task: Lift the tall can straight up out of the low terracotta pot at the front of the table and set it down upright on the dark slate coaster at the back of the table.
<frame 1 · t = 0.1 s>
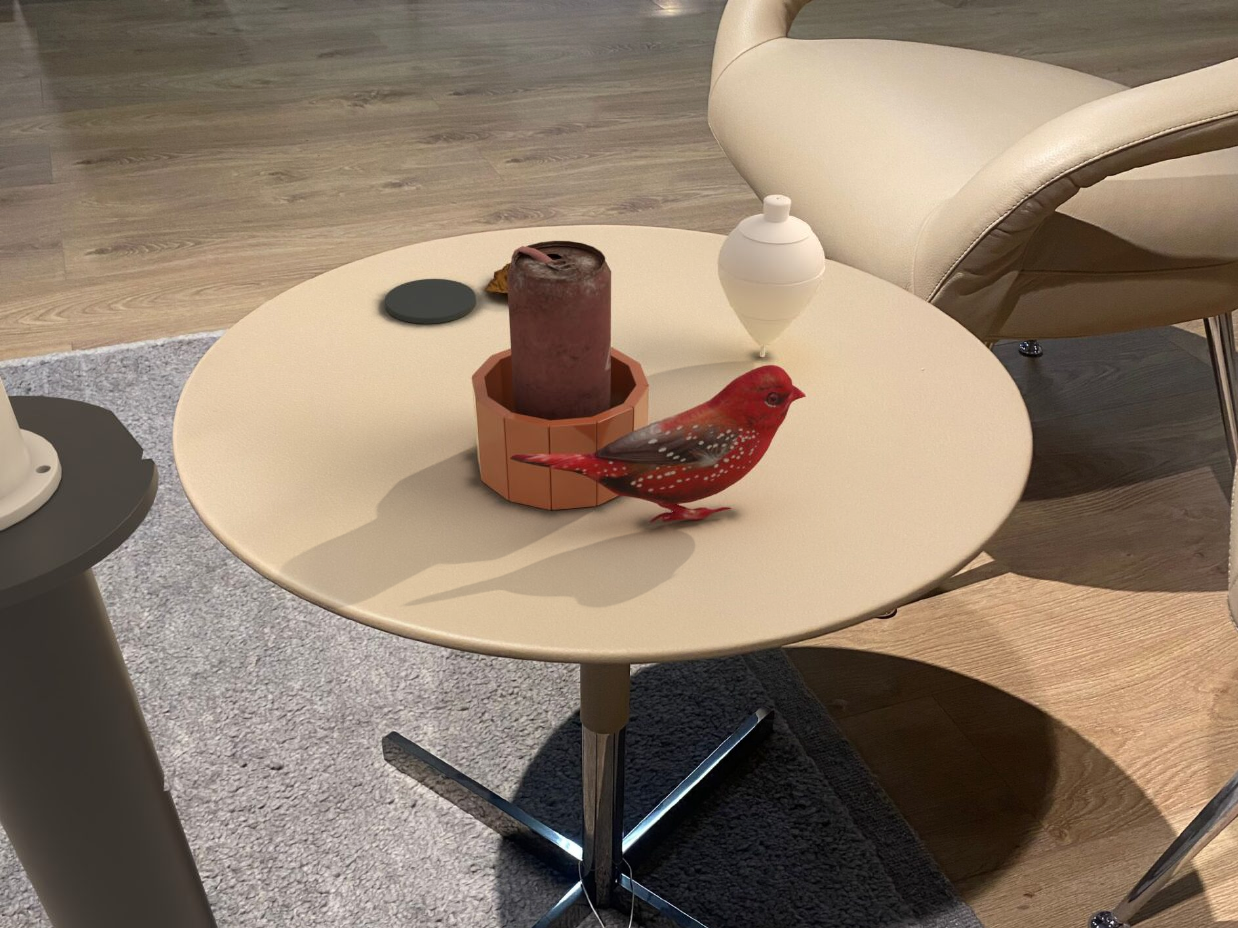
pot: (561, 462, 78), on the table
coaster: (430, 303, 95), on the table
leaf: (528, 293, 98), on the table
decorative bird figurine: (656, 527, 73), on the table
spinning top: (761, 358, 90), on the table
can: (561, 464, 78), resting in pot
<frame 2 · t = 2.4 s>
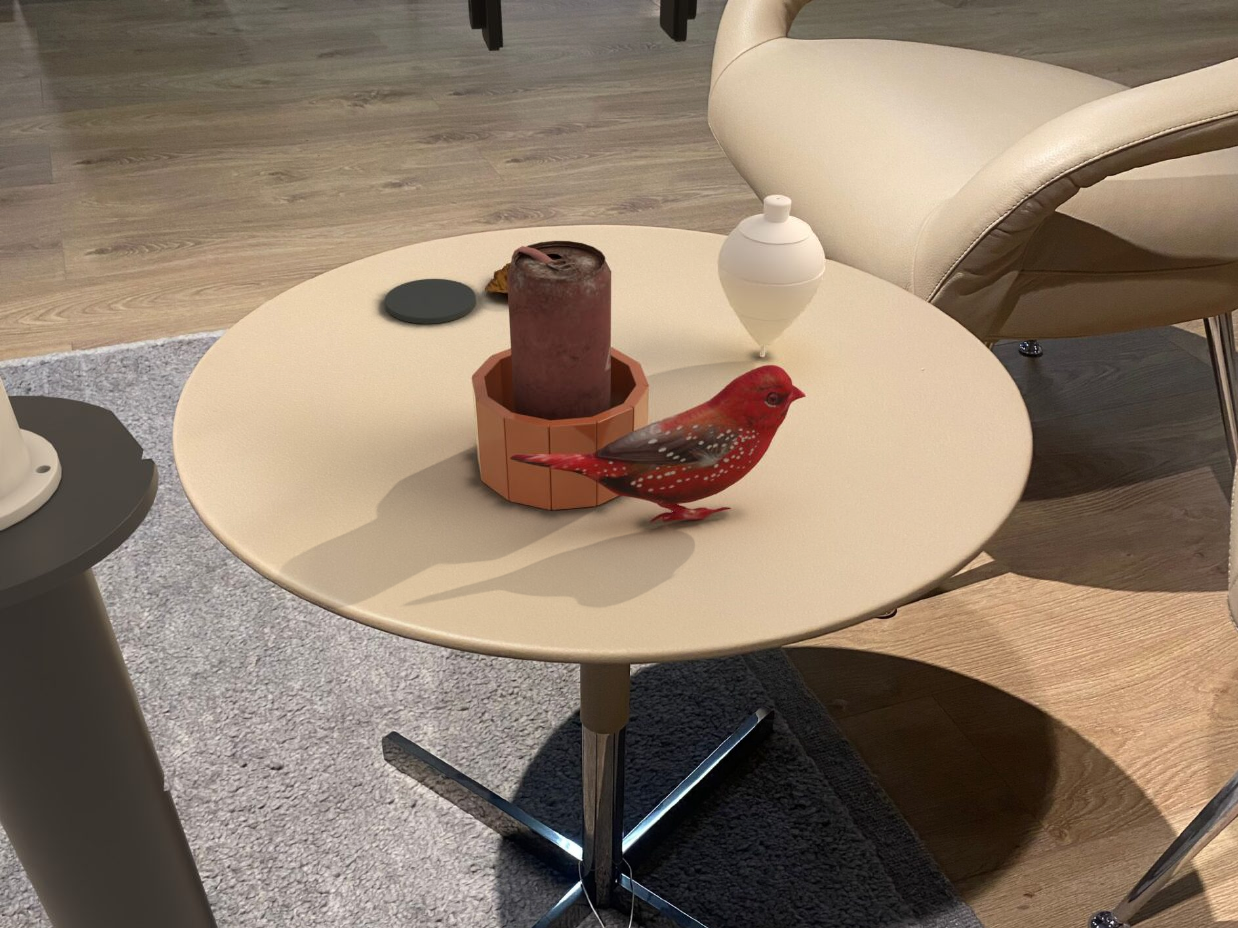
hand: (583, 39, 62), 25 cm above the table, tool pointing down, fingers open, 9 cm apart
nothing on the table moved.
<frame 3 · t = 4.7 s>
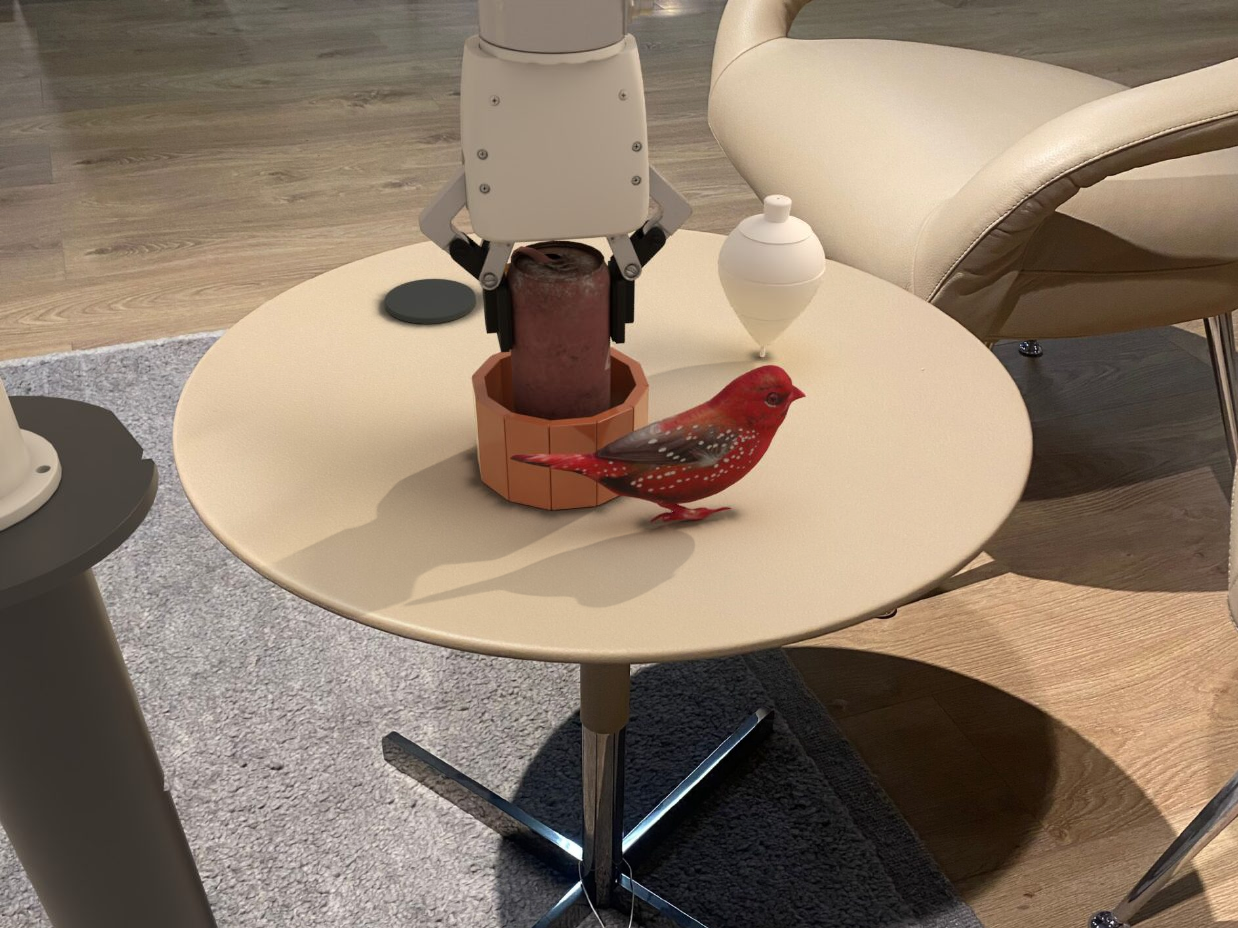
hand: (559, 335, 72), 9 cm above the table, tool pointing down, fingers closed on can, 6 cm apart
can: (562, 464, 78), resting in pot, touching gripper
everything else where it was.
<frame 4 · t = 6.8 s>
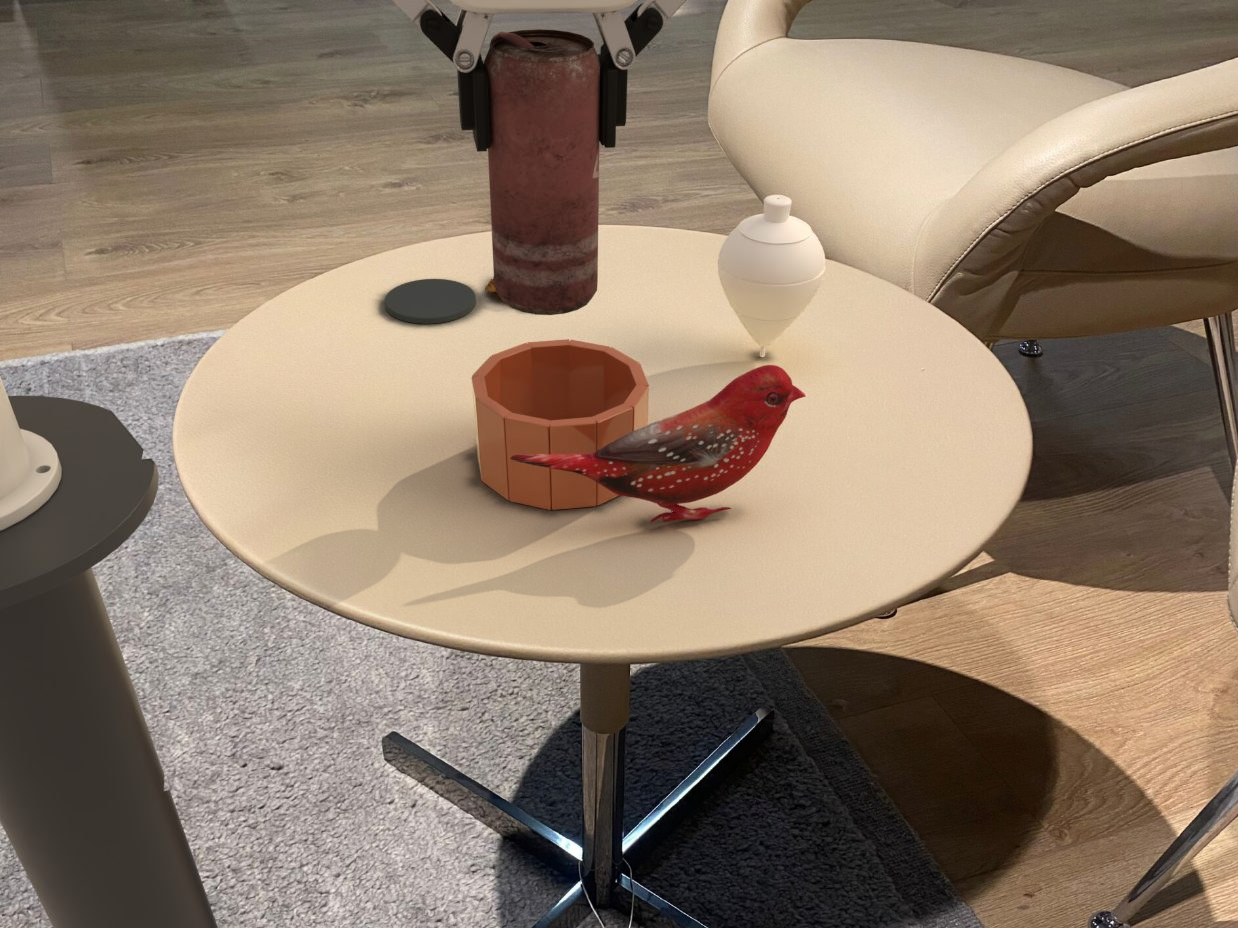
hand: (543, 138, 65), 21 cm above the table, tool pointing down, fingers closed on can, 6 cm apart
can: (544, 297, 71), point 11 cm above the table, touching gripper
everything else where it was.
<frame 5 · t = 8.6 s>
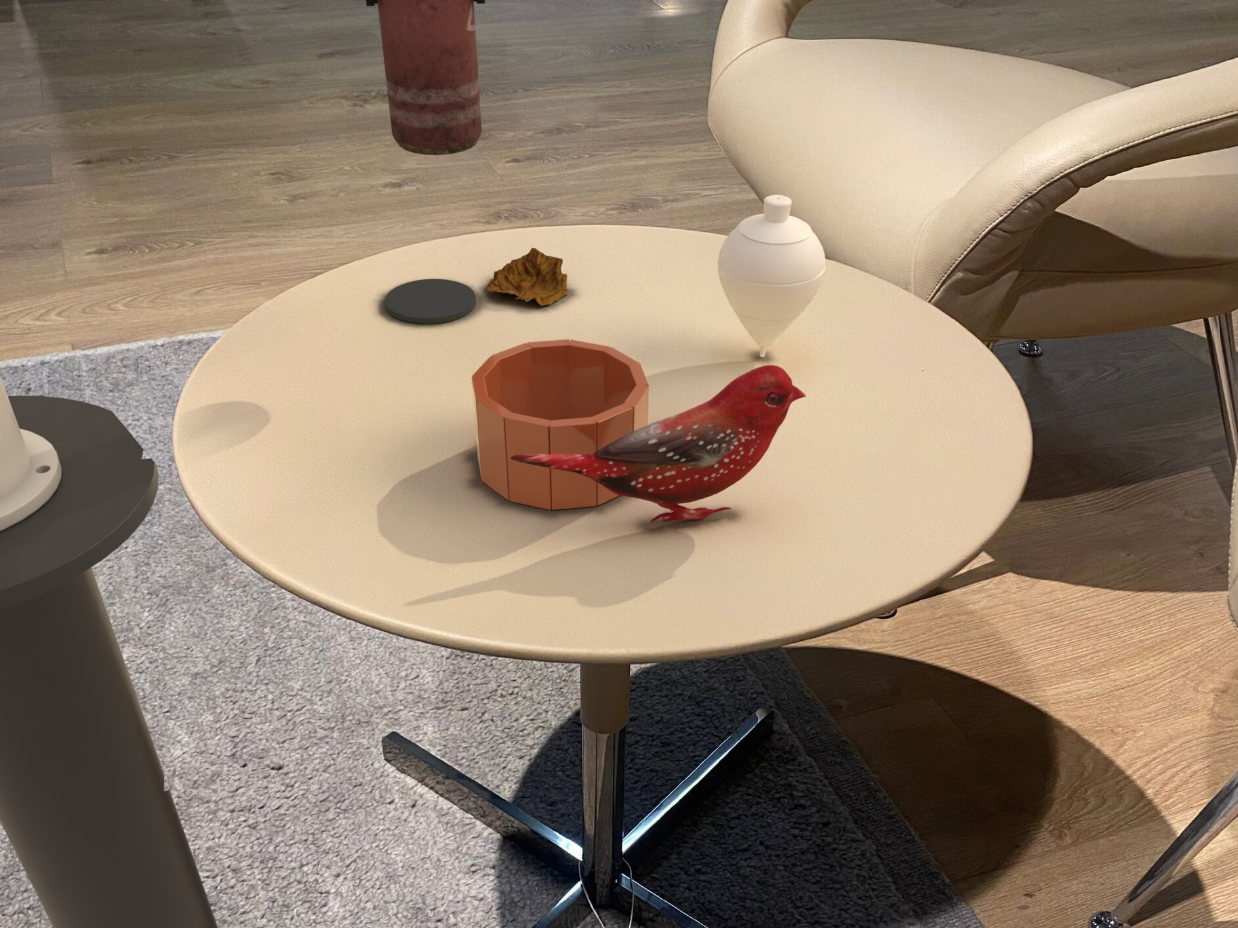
can: (436, 144, 82), point 14 cm above the table, touching gripper
everything else where it was.
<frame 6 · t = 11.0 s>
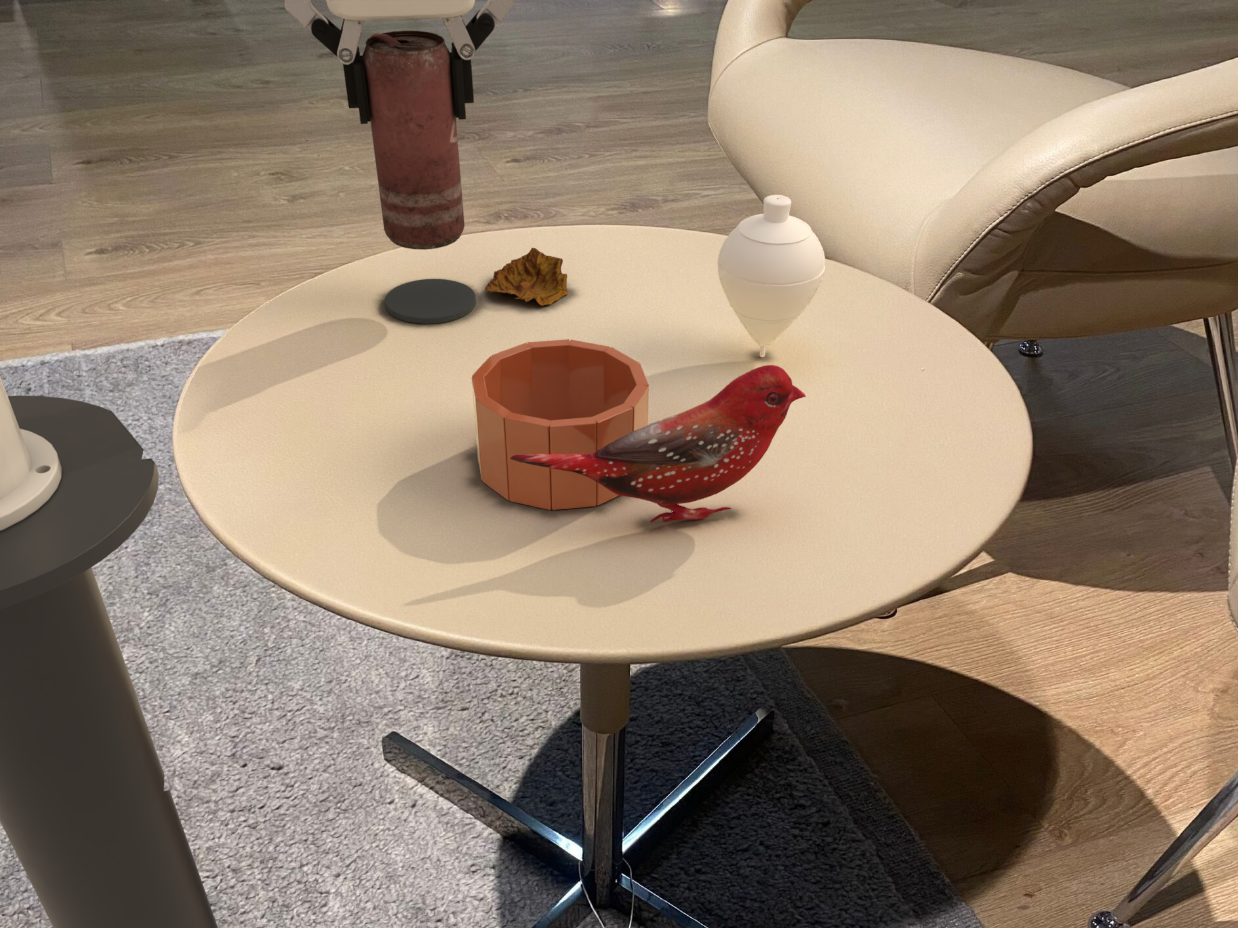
hand: (412, 113, 86), 15 cm above the table, tool pointing down, fingers closed on can, 6 cm apart
can: (423, 237, 92), point 5 cm above the table, touching gripper
everything else where it was.
when the fingers open (10 cm above the table, at t = 12.8 s): can stays where it is, resting on coaster.
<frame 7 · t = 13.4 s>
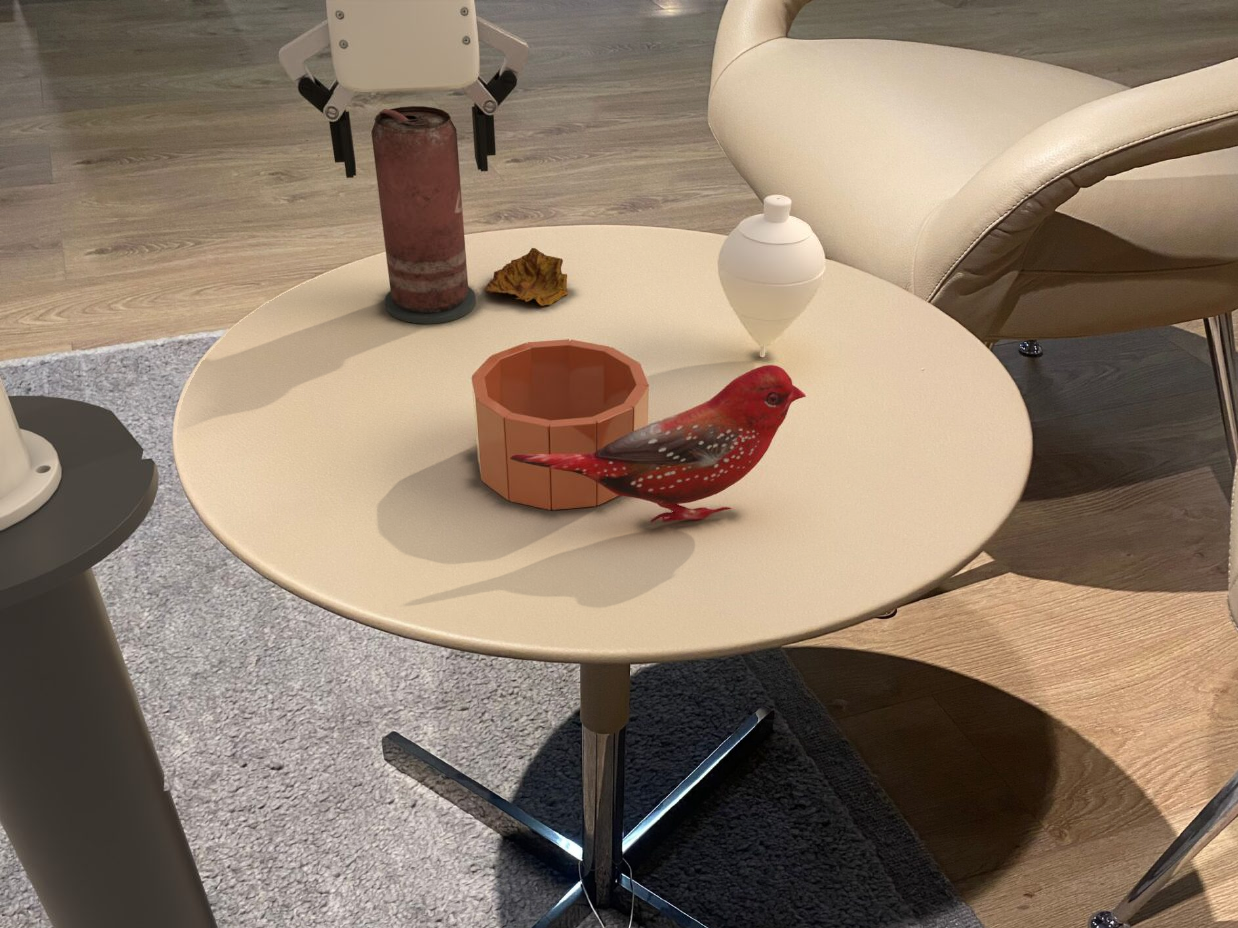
hand: (416, 168, 88), 11 cm above the table, tool pointing down, fingers open, 9 cm apart
can: (429, 300, 95), resting on coaster
everything else where it was.
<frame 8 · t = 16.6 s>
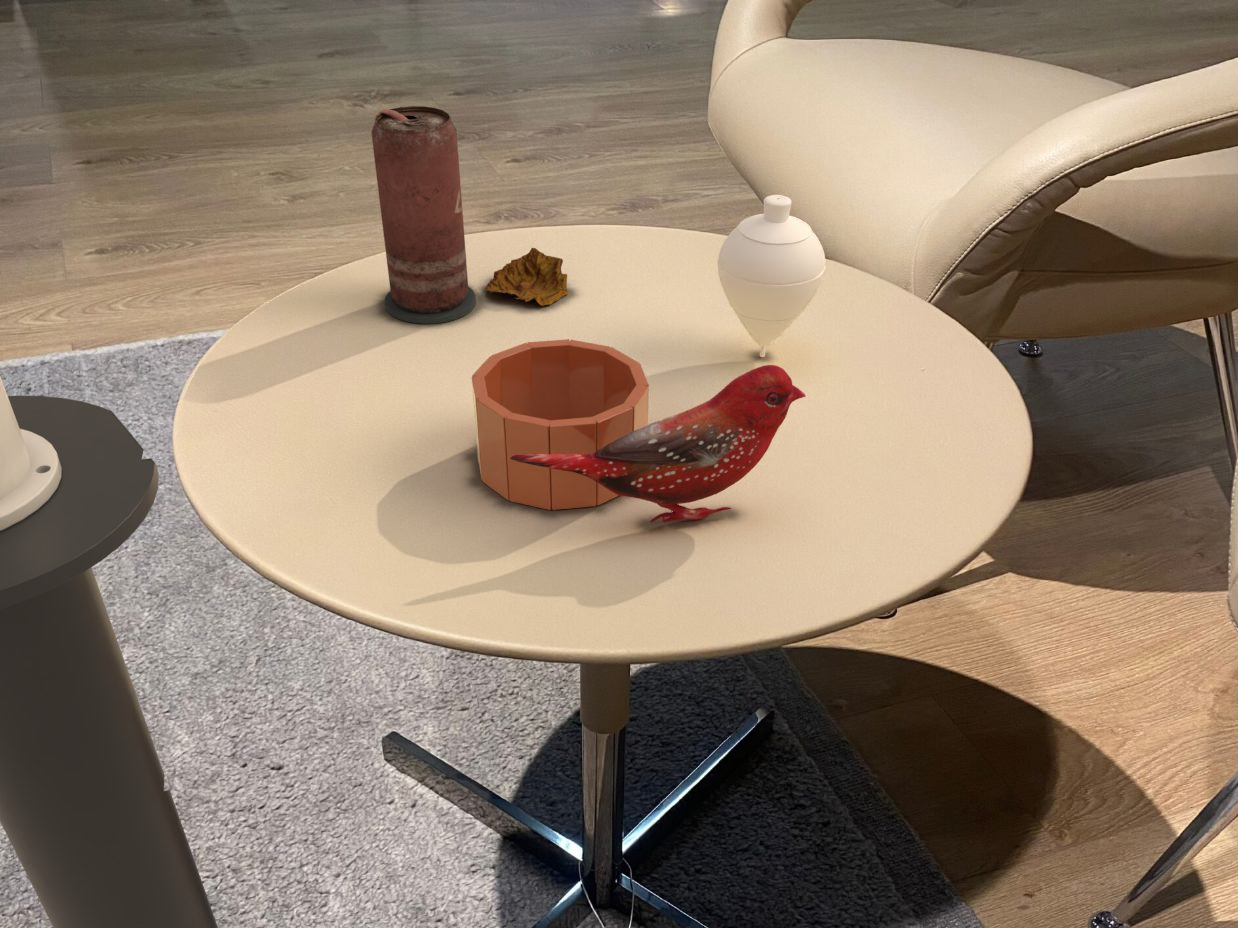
nothing on the table moved.
at the end: can 0.1 cm off-centre on the coaster, point 0.3 cm above the coaster's base; can tilted 0°; the gripper is holding nothing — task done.
